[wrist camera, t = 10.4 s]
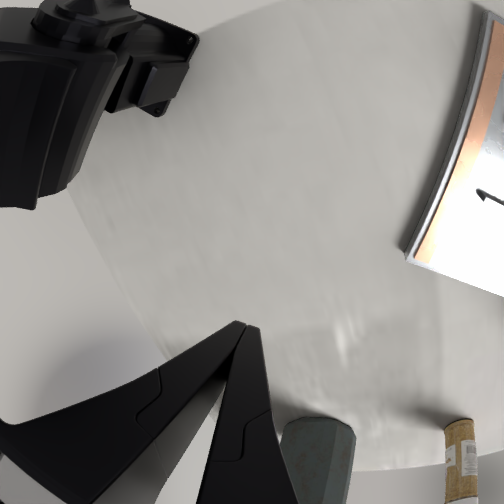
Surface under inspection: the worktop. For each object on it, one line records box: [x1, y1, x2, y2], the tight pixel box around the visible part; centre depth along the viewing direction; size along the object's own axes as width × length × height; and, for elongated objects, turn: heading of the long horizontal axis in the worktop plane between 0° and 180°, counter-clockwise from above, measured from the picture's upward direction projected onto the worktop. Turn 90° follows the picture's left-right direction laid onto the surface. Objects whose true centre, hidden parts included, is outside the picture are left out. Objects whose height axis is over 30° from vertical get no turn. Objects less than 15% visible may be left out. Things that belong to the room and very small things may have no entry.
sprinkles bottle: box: [444, 420, 478, 504], centre depth 25 cm, size 5×5×13 cm
